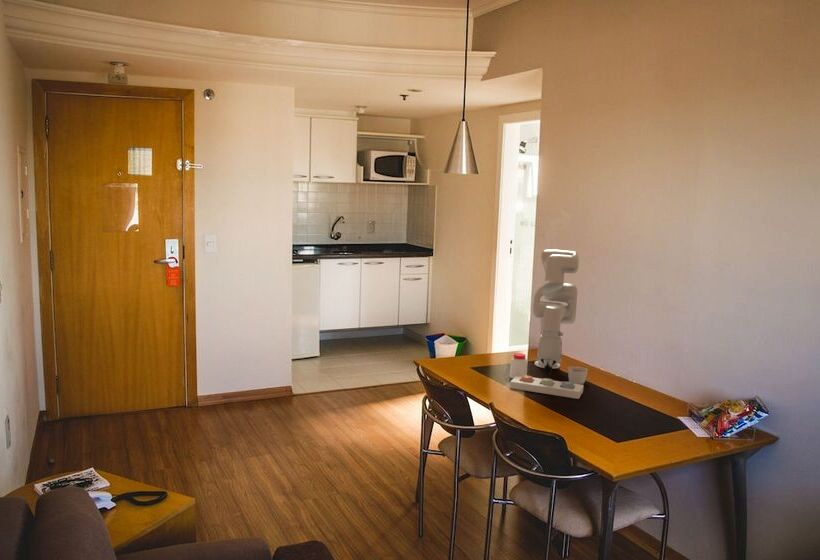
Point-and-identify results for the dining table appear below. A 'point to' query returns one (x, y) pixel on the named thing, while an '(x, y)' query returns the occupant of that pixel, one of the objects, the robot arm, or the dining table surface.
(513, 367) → the pill bottle
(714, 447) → the dining table surface
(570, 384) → the button slate
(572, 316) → the robot arm
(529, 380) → the button terracotta
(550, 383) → the button sage
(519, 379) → the console
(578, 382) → the candle
